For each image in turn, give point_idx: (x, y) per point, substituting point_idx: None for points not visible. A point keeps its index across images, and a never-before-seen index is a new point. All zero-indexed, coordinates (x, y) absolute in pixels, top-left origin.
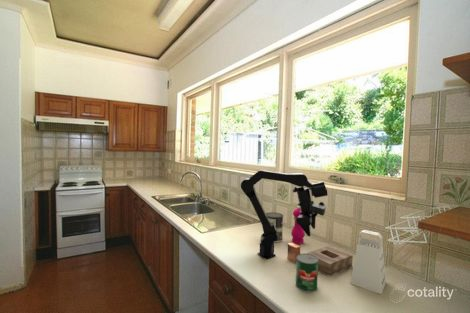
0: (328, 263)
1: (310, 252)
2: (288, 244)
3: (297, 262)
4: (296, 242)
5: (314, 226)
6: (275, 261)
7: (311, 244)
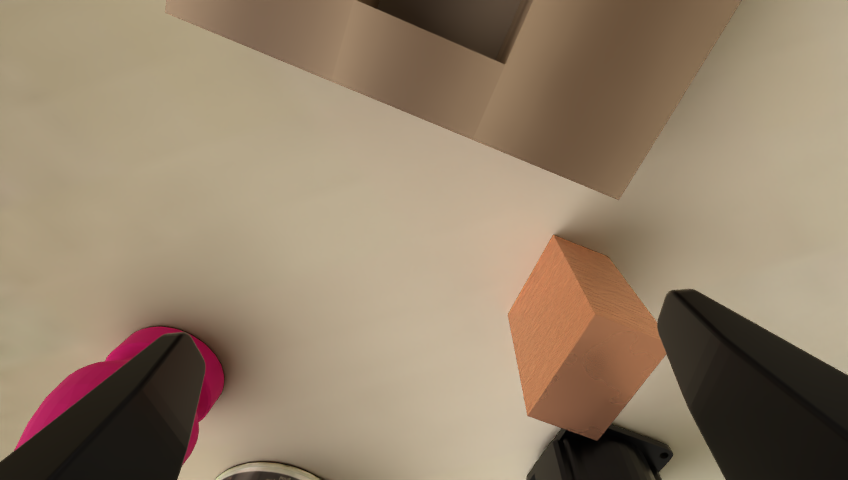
0: None
1: (576, 168)
2: (603, 430)
3: None
4: (217, 372)
5: (162, 376)
6: (665, 384)
7: (124, 259)
